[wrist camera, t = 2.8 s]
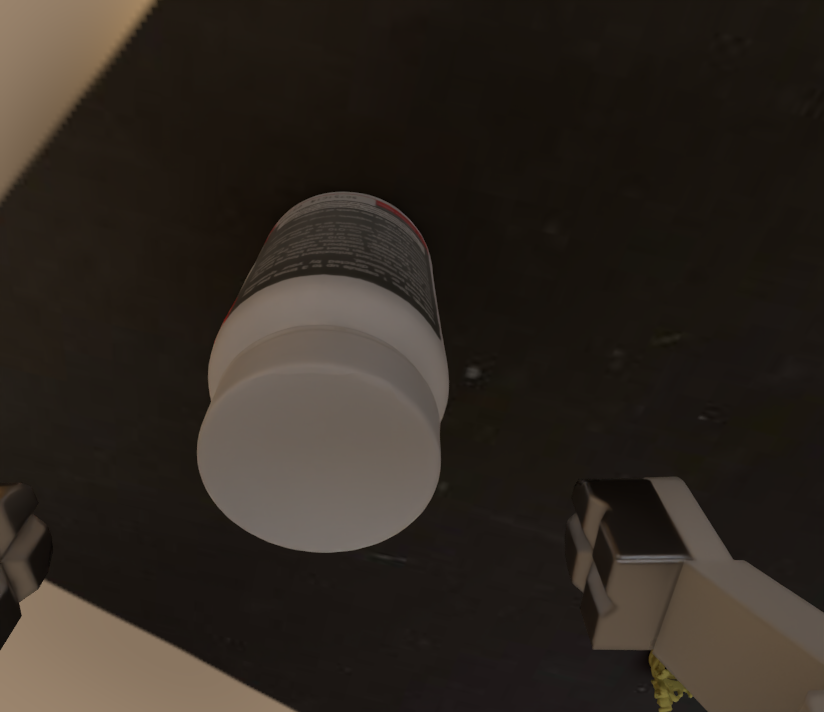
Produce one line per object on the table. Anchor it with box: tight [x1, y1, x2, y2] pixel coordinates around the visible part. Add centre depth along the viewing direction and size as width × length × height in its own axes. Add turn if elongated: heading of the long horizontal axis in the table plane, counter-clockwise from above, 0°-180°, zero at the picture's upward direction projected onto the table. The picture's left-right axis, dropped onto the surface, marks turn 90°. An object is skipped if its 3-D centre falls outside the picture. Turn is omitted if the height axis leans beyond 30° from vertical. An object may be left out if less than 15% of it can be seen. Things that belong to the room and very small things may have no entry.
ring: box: [649, 650, 693, 712], centre depth 26 cm, size 3×3×3 cm
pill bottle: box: [197, 192, 449, 553], centre depth 13 cm, size 5×5×8 cm
